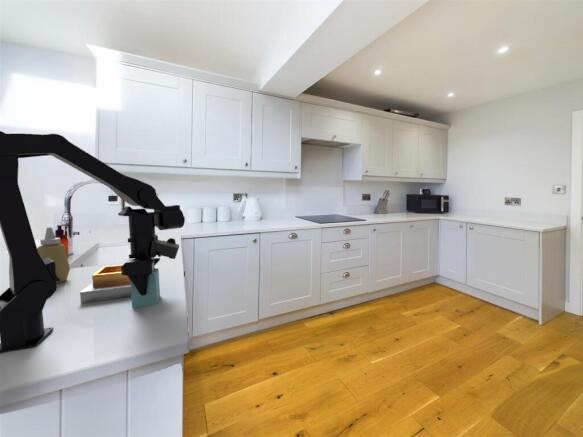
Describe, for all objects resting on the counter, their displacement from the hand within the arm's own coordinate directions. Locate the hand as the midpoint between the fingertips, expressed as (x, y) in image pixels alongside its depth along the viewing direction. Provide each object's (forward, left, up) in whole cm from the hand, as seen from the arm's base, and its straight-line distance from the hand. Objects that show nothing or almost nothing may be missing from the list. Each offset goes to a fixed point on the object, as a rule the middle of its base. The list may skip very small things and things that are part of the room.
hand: (146, 290), depth 66 cm
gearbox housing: (+14, +10, -3) cm, 17 cm away
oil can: (0, 0, -3) cm, 3 cm away
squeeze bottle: (+28, +31, -3) cm, 42 cm away
